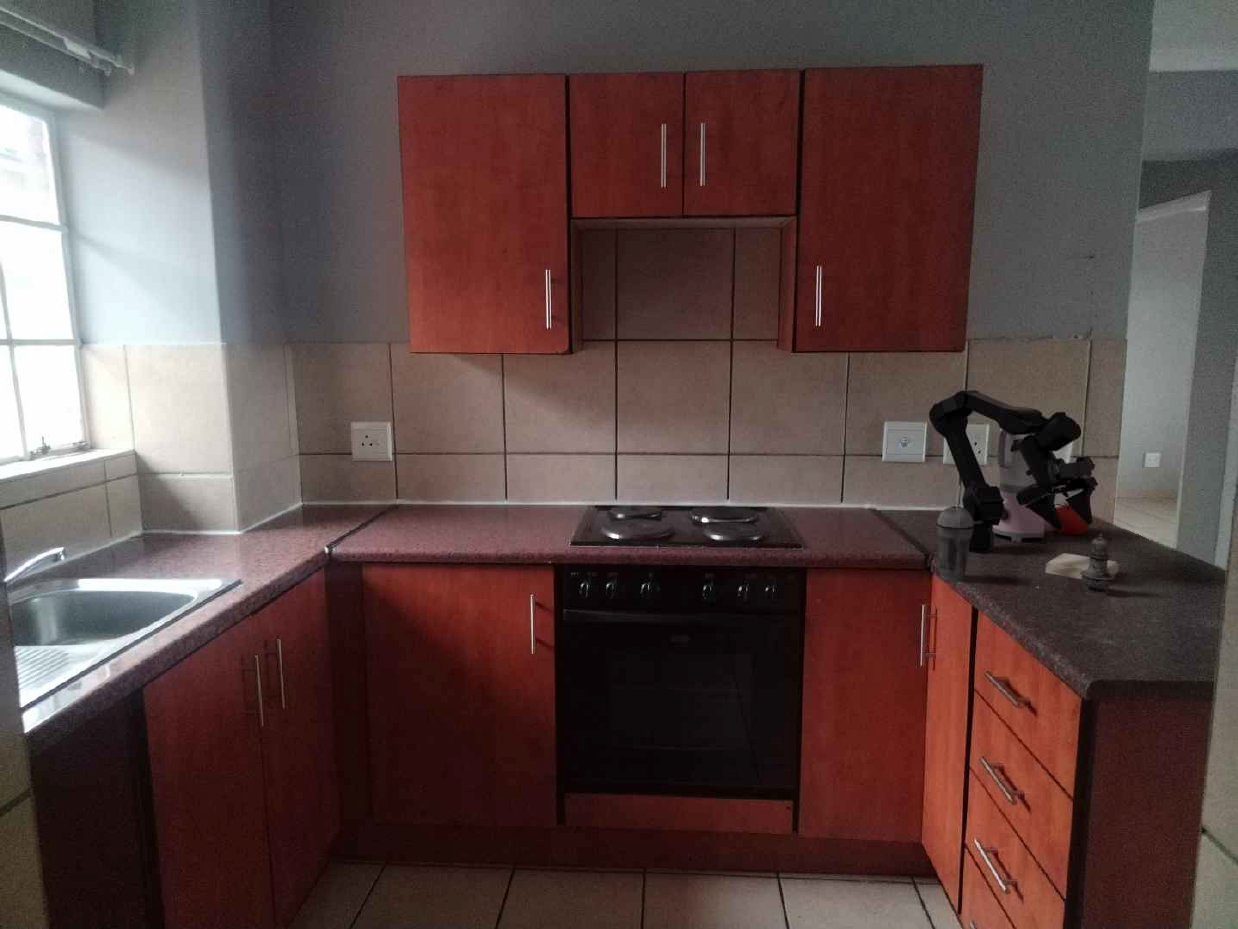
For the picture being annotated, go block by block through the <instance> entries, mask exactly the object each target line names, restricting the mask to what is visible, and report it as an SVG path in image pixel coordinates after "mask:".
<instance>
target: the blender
mask: <svg viewBox="0 0 1238 929" xmlns="http://www.w3.org/2000/svg"><path fill="white" fill-rule="evenodd" d="M999 430H1000V431H999V435H998V443H997V444H998V445H997V465H998V472H999V473H998V474H999V481H1000V482H999V486H998V488H999V490H1000V494H1001V496H1002V498H1003V499H1004V502H1003V504H1004V508H1005V510H1004V512H1003V515H1002V517H1001V520H1000V523H999V525H993V532H994V533H995V536H996V534H997V535H1001V536H1006V537H1011V541H1012V542H1013V541H1017V542H1016V543H1021V542H1022V539H1035V538H1038V539H1043V537H1044V536H1045V521H1046V520H1044V519H1043V518H1042V517H1040V516H1039V515H1038V514H1036V513H1035V512H1033V511H1032V510H1030V509H1029V508H1025V506H1026V505H1021V506H1020V505H1019V503H1018V501H1017V499H1016V495H1017V492H1019V491H1020V490H1022V489H1024V488H1026V487H1028V486H1030V485H1032V484H1034V483H1036V482H1035V480H1034V478H1033V476H1032V475H1030V476H1027V474H1026V471H1028V470H1029V468H1028V466H1027V464H1026V462H1025V461H1024V459H1023V457H1022V455H1021V453H1020V451H1016V452H1011V451H1010V449H1011V446H1012V445H1013V440H1017V439H1023V438H1024V437H1026V436H1028V435H1010V434H1008V433H1007V432H1005V431H1004V430H1003V429H1001V428H1000V429H999ZM1032 435H1035V434H1032ZM1029 504H1030V503H1029ZM1027 505H1028V504H1027Z"/></svg>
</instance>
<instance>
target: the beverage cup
mask: <svg viewBox="0 0 1238 929" xmlns="http://www.w3.org/2000/svg"><path fill="white" fill-rule="evenodd" d="M961 488H962V486H961V484H959V485H958V487H957V494H956V495H957V496H956V497H957V498H956V506H955V505H953V506H948V507H946V508H944V510H942V511H941V513H940V514H939V515H938V518H937V521H936V526H937V527H936V528H937V534H938V548H939V551H938V552H939V554H938V555H939V572H940V578H941V579H942V580H944V581H945V580H946V581H948V582H949V581H950V582H962V581H964V579H965V573H966V568H967V562H968V557H969V552H970V551H969V545H970V538H971V536H972V533H973V528H974V525H973V519H972V517H971V515H970V513H969V512H968V511H967V510H966V509H964V508H963V506H960V498H961V490H962V489H961Z"/></svg>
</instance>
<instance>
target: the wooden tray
mask: <svg viewBox="0 0 1238 929" xmlns="http://www.w3.org/2000/svg"><path fill="white" fill-rule="evenodd" d="M1089 562H1090V557H1089V556H1085V555H1080V554H1079V555H1078V554H1073V553H1072V554H1071V553H1066V552H1065V553H1064V552H1063V553H1060V555H1058V556H1056V557H1054V558H1053V559H1051V560H1049V561H1048V562H1045V572H1044V573H1046V574H1051V575H1055V576H1056V575H1057V576H1062V577H1067V578H1071V579H1077V580H1082V575H1081V574H1080V572H1081V571H1086V570H1087V569H1088V567H1089ZM1107 570H1108V573H1109V574H1111V575H1113V576H1116V575H1117V574H1118V573H1119V563H1117V561H1114V560H1113V561H1112V560H1110V559H1108V563H1107Z"/></svg>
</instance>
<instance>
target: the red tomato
mask: <svg viewBox="0 0 1238 929" xmlns="http://www.w3.org/2000/svg"><path fill="white" fill-rule="evenodd" d="M1054 505H1055V507H1056V506H1057V507H1056V510H1057V512H1058V514H1059V517H1060V519H1061V521H1062V524H1063V527H1064V529H1062V530H1058V529H1056V528H1055V527H1054V526H1052V525H1051V524H1050V523H1048V524H1049V528H1050V529H1051V531H1052V532H1055V533H1059V534H1062V535H1068V534H1070V535H1069V536H1076V535H1082V534H1084V533H1085V532H1087V530H1088V529H1089V527H1090V525H1091V524H1089V525H1088V524H1086V523H1085V522H1084V521H1083V520H1082V519H1081V517H1080V516H1079V515H1078V514H1077V513H1076V512H1075V511H1074V510H1073V508H1072V507H1071V506H1070V505H1069V504H1068V503H1067V502H1066V501H1065V502H1064V501H1063V502H1061V503H1056V504H1054Z"/></svg>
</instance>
